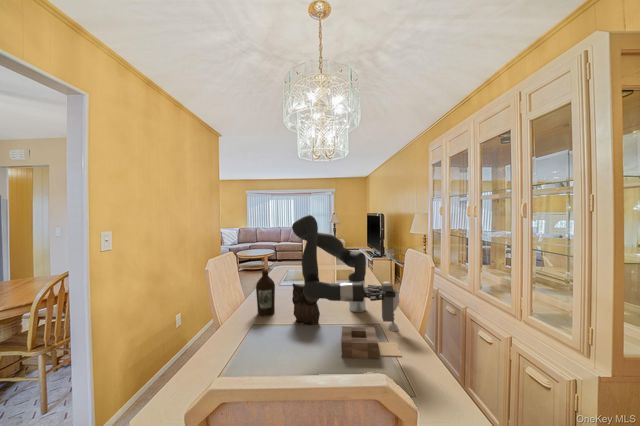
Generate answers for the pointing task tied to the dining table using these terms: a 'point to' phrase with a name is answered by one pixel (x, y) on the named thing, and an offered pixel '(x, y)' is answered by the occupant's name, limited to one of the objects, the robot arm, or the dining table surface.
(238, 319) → the dining table surface
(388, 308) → the plug
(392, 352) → the pad
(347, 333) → the wooden square socket block
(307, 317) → the brown owl figurine
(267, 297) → the olive oil
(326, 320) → the dining table surface
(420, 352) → the dining table surface
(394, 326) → the chalice
